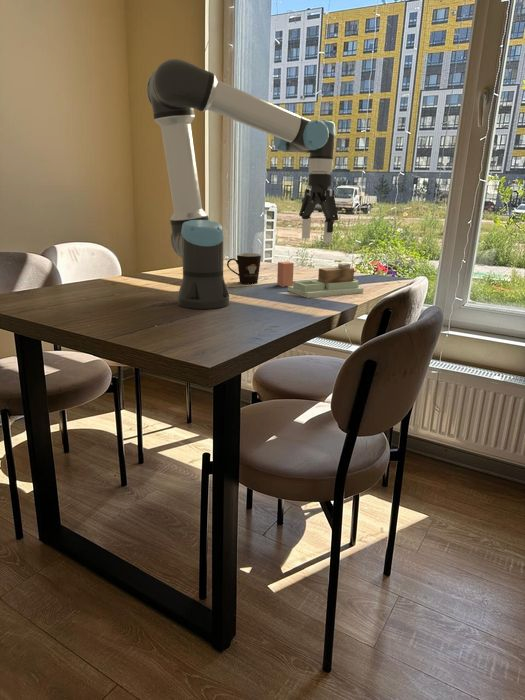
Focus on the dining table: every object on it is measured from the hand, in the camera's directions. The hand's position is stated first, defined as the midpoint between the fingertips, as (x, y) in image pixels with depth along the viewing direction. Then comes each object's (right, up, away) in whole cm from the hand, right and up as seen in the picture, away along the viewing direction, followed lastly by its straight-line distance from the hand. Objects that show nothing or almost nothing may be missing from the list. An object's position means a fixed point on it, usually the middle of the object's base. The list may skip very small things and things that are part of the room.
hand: (316, 240), depth 172 cm
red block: (-10, -14, +10) cm, 20 cm away
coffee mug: (-24, -12, +13) cm, 30 cm away
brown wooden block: (+7, -15, +2) cm, 17 cm away
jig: (+3, -17, 0) cm, 17 cm away
